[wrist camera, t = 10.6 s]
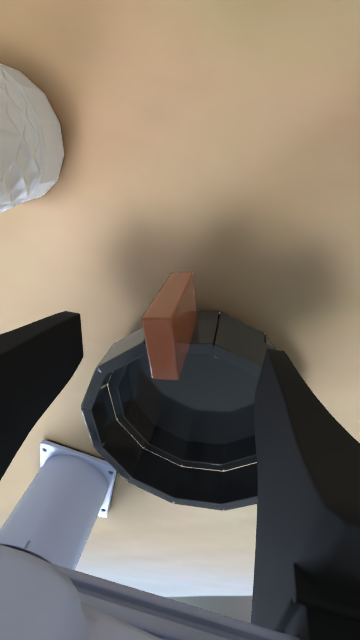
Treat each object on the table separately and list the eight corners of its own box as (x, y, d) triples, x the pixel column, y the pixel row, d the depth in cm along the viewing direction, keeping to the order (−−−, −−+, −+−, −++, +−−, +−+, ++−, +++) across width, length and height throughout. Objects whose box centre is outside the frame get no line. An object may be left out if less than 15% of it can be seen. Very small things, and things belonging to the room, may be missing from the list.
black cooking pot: (292, 456, 25) (306, 570, 18) (131, 440, 28) (92, 533, 21) (311, 252, 17) (347, 319, 11) (87, 261, 20) (5, 317, 14)
